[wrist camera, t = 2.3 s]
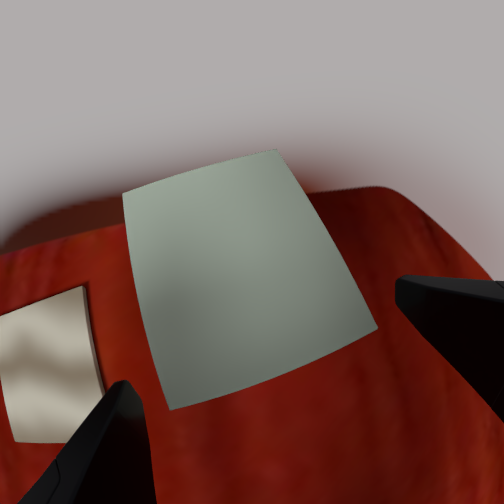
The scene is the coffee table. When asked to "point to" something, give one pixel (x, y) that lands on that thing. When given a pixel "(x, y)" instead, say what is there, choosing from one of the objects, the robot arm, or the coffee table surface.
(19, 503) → the robot arm
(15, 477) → the coffee table surface
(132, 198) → the bulging sage box
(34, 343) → the birch coaster
